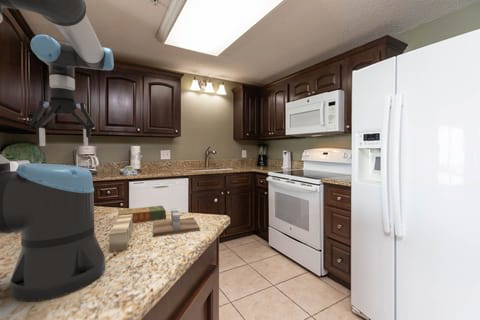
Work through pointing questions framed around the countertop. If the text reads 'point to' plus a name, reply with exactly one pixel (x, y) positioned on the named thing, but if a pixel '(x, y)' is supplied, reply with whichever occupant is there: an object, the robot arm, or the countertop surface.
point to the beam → (121, 233)
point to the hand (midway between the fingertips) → (64, 146)
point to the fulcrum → (174, 225)
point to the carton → (145, 213)
